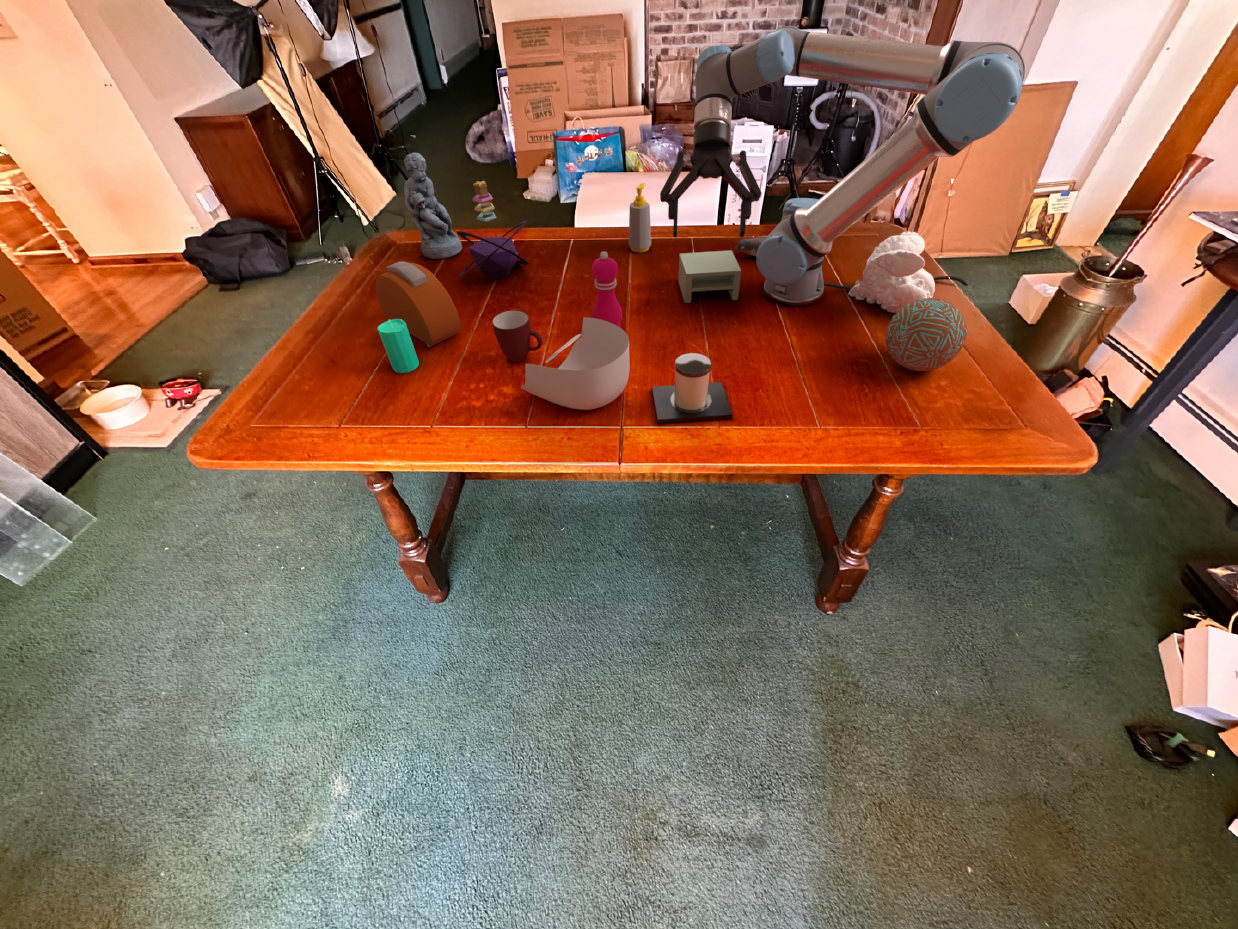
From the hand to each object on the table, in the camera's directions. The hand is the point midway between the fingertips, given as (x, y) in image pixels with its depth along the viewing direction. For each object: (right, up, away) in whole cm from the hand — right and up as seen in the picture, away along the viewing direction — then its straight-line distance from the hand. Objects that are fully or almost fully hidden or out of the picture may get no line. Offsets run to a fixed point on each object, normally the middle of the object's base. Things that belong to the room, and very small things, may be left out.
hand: (708, 234), depth 113 cm
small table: (+6, 0, +36) cm, 37 cm away
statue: (-75, +20, +60) cm, 98 cm away
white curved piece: (-26, -31, +7) cm, 41 cm away
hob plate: (-3, -35, +2) cm, 35 cm away
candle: (-68, -24, +16) cm, 74 cm away
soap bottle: (-12, +19, +57) cm, 61 cm away
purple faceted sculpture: (-53, +8, +47) cm, 71 cm away
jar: (-4, -34, +1) cm, 34 cm away
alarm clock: (-67, -13, +27) cm, 74 cm away
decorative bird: (+27, +14, +49) cm, 58 cm away
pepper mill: (-21, -14, +23) cm, 34 cm away
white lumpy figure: (+50, -6, +29) cm, 58 cm away
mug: (-41, -22, +16) cm, 49 cm away
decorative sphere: (+47, -25, +9) cm, 54 cm away
